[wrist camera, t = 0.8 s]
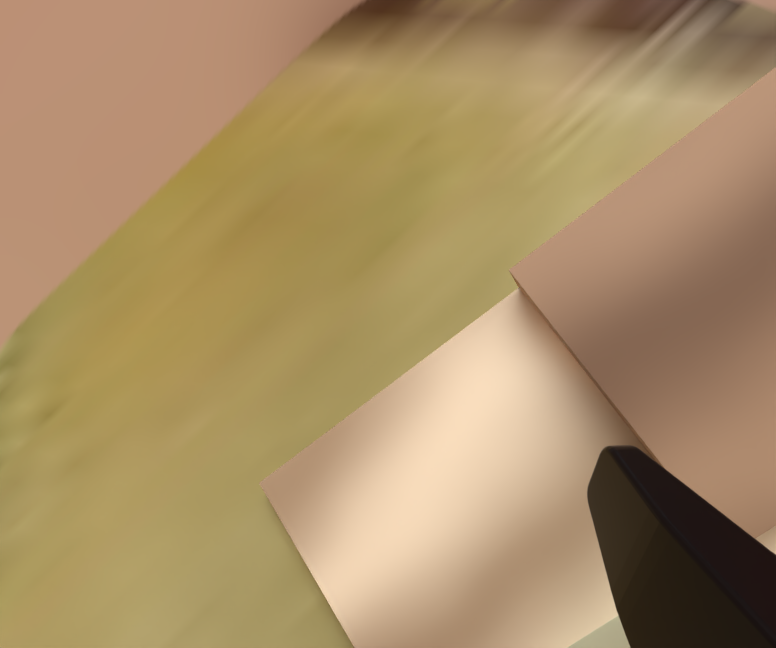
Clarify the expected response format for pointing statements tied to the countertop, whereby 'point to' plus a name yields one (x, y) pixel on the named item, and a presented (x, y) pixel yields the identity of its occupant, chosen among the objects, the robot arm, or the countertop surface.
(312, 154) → the countertop surface
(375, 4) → the countertop surface
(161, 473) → the countertop surface
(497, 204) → the countertop surface
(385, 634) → the board
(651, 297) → the base block
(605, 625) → the top block
